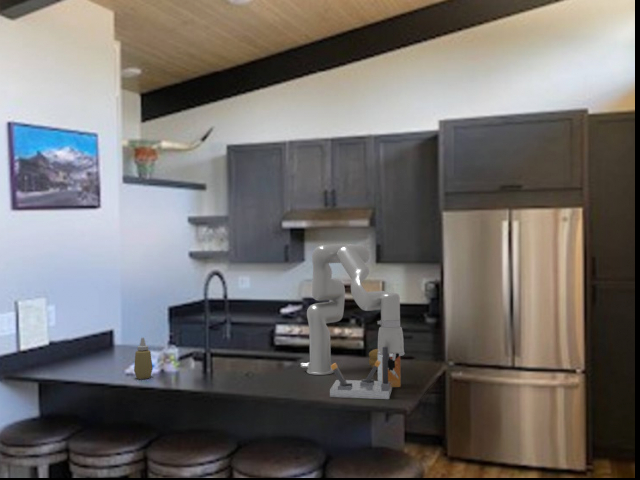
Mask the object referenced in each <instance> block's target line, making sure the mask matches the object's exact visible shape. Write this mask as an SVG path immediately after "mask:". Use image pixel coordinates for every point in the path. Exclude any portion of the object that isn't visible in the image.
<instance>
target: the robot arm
mask: <svg viewBox="0 0 640 480" xmlns="http://www.w3.org/2000/svg"><path fill="white" fill-rule="evenodd" d="M311 258H312V259H311V260H312V269H313V270H312V283H311V296H312V298H313V299H314V300H315V301H323V302H315V303H313V304H310V305H309V306H308V308H307V309H306V310H307V311H306V318H307V322H308V330H309V331H308V332H309V361H308V362H301V363H300V368H303V369H304V368H305V369H306V368H307V369H306V373H307V374H309V375H313V376H324V375H325V376H326V375H331V374H335V373H334V371H333V370H332V368H331V365H332V361H331V359H332V358H331V356H332V355H331V354H332V353H331V351H332V350H331V348H332V347H331V332H330V329H329V327H328V325H327V324H330V323H337V322H340V321H341V320H342V319H343V316H344V310H345V299H346V297H345V296H346V288H345V284H344V283H343V281H342V280H341V279H339V278H332V274H333V271H332V267H331V265H330V264H341V265H342V267H343V268H344V270H345V272H346V273H347V274H348V277H349V278H350V279H351V282H350V292H351V297H352V299H353V300H354V302H355V303H356V305H357V306H358V307H359V308H360V309H361V310H362V311H365V312H370V311H377V310H379V311H380V320H377V325H378V326H379V325H380V327H379V328H378V334H377V335H378V336H377V349H378V353H377V354H378V355H381V356H383V347H388V368H389V370H392V371H393V368H395V359H396V358H397V357H398V356H400V357H401V356H404V355H405V349H404V345H405V343H404V334H403V333H404V332H403V327H401V300H400V299H401V298H400V294H399V293H395V292H388V291H385V290H378V291H377V290H374V291H366V289H365V288H364V287H363V285H362V282H363V281H365V280H366V279H367V278H368V277H369V275H370V269H369V267H368V266H367V264H366V263H368V261H369V259H370V251H369V249H368V248H367V247H366V246H365V245H362V244H353V243H351V244H350V243H336V244H335V243H331V244H322V245H318V246H317V247H315V248H314V250H313V251H312V256H311ZM324 301H327V302H324ZM389 353H393V357H392V360H391V359H390V356H389Z"/></svg>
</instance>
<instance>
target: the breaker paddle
mask: <svg viewBox="0 0 640 480" xmlns="http://www.w3.org/2000/svg"><path fill="white" fill-rule="evenodd" d="M380 363H381V362H380V361H378V360H377V361H376V363H375V365H374V367H373V368H372V367H371V368H372V369H371V370H370V372H369V373H368V375H367V377H366V378H365V379H366V381H367V382H370V380H372V379H373V376H374V375H375V373H376V371H378V370H377V368H378V367H379V365H380Z"/></svg>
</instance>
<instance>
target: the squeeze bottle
mask: <svg viewBox="0 0 640 480" xmlns="http://www.w3.org/2000/svg"><path fill="white" fill-rule="evenodd" d="M133 368H134V369H133V371H134V375H135V377H136V379H139V380H146V379H149V378H151V376H152V372H153V361H152V354H151V350H149V345H147V344H146V341H145V338H144V337H141V338H140V342H139V345H138V346H137V350H136V351H135V356H134V367H133Z"/></svg>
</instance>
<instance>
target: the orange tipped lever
mask: <svg viewBox="0 0 640 480" xmlns="http://www.w3.org/2000/svg"><path fill="white" fill-rule="evenodd" d="M331 368H332V370H333V371H334V373H333V374H334V375H335V376H336V378H337V380H339V381H340V383H341V385H342V386H344V385H346V384H347V382H346V380H347V379H345V377H344V375H343V373H342V372H341V370H340V368H339V366H338V364H337V362H334V363H331Z"/></svg>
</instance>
